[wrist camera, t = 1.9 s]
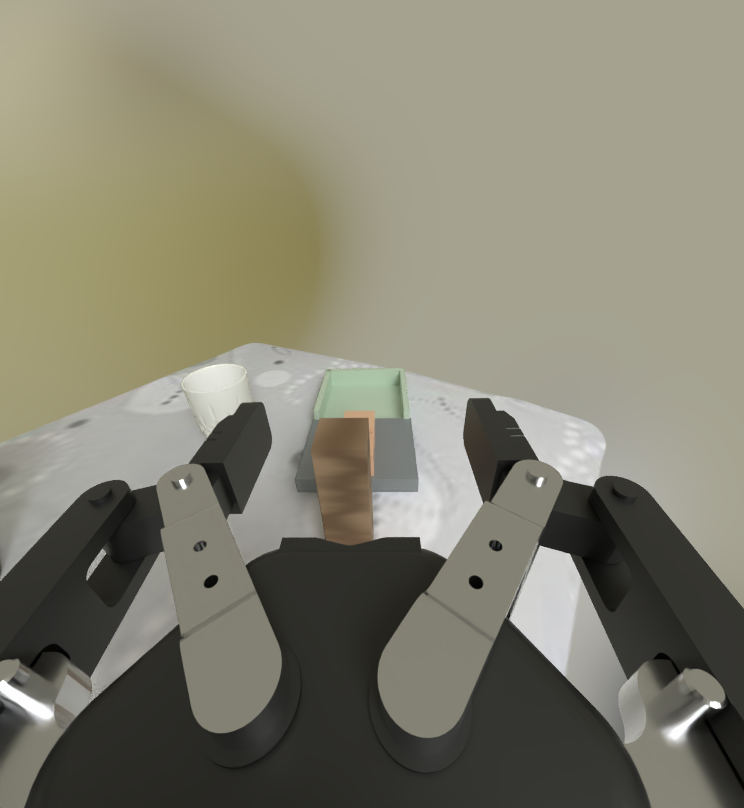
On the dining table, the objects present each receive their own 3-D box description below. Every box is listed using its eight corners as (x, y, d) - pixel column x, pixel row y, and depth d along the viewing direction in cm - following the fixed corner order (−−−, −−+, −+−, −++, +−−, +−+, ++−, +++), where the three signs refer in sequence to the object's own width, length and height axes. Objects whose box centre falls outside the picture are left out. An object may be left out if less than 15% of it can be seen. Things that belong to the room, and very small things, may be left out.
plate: (297, 491, 39) (295, 479, 38) (315, 430, 49) (313, 418, 48) (417, 491, 38) (418, 479, 37) (410, 429, 49) (410, 417, 47)
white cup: (196, 438, 48) (172, 377, 43) (247, 416, 53) (230, 358, 47) (218, 464, 43) (194, 399, 38) (272, 437, 48) (257, 376, 43)
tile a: (339, 476, 38) (337, 456, 37) (342, 453, 41) (340, 434, 40) (374, 476, 38) (373, 456, 36) (374, 452, 41) (374, 433, 40)
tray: (316, 430, 49) (313, 411, 47) (328, 386, 60) (326, 369, 58) (408, 430, 48) (409, 410, 46) (404, 385, 60) (404, 368, 58)
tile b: (343, 447, 42) (341, 429, 41) (346, 429, 46) (344, 410, 44) (374, 447, 42) (374, 428, 41) (375, 428, 46) (374, 410, 44)
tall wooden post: (329, 564, 31) (310, 450, 24) (335, 528, 35) (319, 418, 27) (372, 564, 31) (366, 449, 24) (373, 528, 34) (368, 417, 27)
